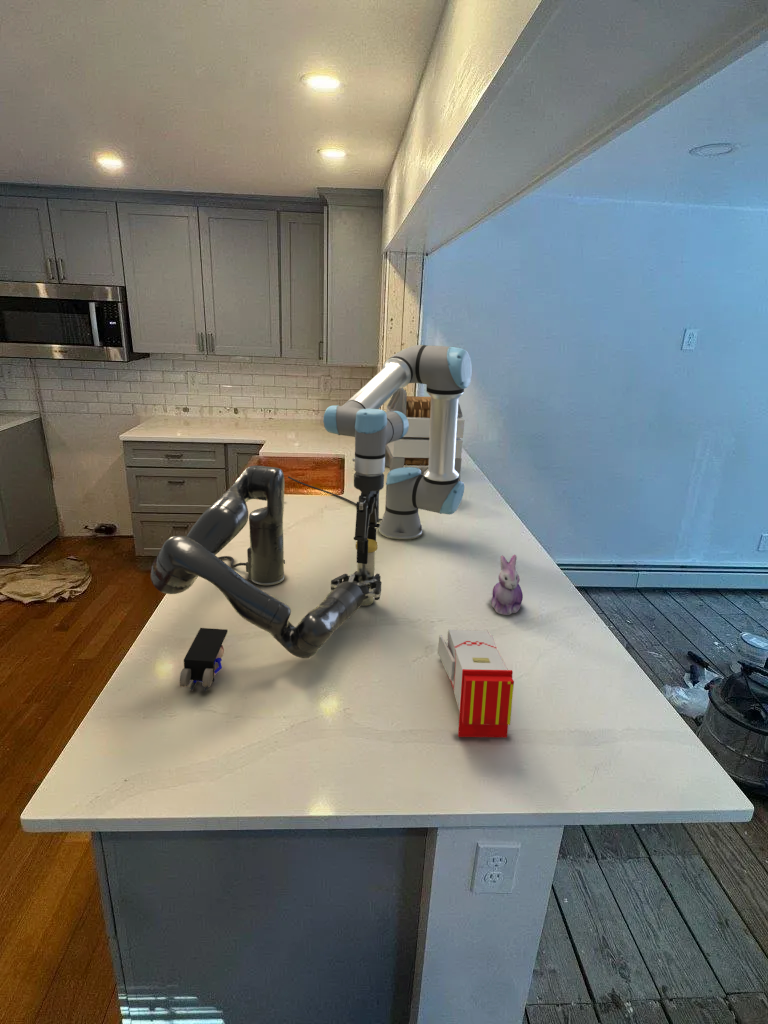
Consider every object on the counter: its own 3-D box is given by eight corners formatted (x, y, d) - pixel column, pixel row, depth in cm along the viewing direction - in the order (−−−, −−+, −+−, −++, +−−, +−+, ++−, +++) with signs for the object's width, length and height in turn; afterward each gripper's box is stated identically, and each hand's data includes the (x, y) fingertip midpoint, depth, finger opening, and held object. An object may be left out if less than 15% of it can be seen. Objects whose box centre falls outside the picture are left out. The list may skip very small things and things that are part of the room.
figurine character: (214, 702, 114) (231, 653, 127) (210, 673, 110) (228, 625, 124) (180, 702, 114) (200, 652, 127) (175, 673, 110) (197, 625, 124)
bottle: (354, 604, 151) (356, 547, 146) (358, 596, 155) (359, 540, 150) (371, 606, 151) (373, 549, 145) (374, 598, 155) (376, 542, 149)
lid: (381, 549, 148) (382, 543, 147) (365, 554, 144) (365, 548, 143) (367, 542, 151) (367, 536, 151) (351, 547, 148) (351, 542, 147)
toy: (488, 613, 130) (523, 677, 101) (484, 667, 133) (517, 744, 104) (435, 612, 130) (455, 676, 101) (432, 666, 133) (451, 743, 103)
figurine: (504, 619, 147) (511, 567, 142) (480, 601, 155) (486, 551, 150) (532, 612, 151) (540, 561, 146) (508, 595, 159) (514, 546, 154)
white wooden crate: (382, 463, 289) (386, 382, 275) (445, 464, 293) (451, 384, 279) (390, 482, 257) (394, 392, 243) (460, 483, 261) (468, 394, 247)
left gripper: (316, 609, 142) (345, 581, 157) (368, 622, 137) (393, 592, 152) (316, 582, 139) (346, 557, 154) (369, 595, 134) (395, 567, 149)
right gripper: (365, 461, 151) (362, 540, 159) (342, 482, 132) (340, 570, 140) (393, 464, 149) (389, 544, 157) (373, 485, 131) (370, 575, 138)
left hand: (369, 575), depth 153 cm, fingers closed on bottle, 4 cm apart
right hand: (366, 556), depth 148 cm, fingers open, 7 cm apart
